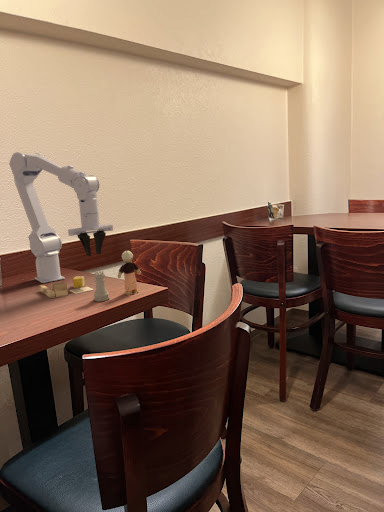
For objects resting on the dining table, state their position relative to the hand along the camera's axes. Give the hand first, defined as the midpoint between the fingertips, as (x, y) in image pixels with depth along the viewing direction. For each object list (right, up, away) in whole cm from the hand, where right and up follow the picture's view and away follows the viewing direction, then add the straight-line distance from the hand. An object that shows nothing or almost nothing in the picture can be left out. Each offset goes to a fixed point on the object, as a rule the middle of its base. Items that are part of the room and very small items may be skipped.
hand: (93, 254), depth 133 cm
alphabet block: (-4, -10, -2) cm, 11 cm away
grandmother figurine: (+14, -12, -13) cm, 23 cm away
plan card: (-2, -11, -7) cm, 13 cm away
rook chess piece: (+7, -13, -19) cm, 24 cm away
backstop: (-12, -12, -9) cm, 19 cm away
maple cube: (-7, -12, -11) cm, 18 cm away
